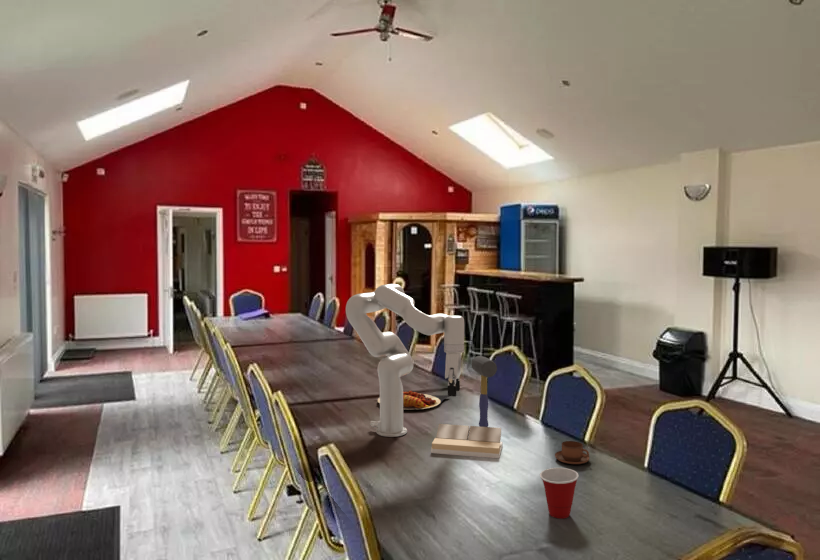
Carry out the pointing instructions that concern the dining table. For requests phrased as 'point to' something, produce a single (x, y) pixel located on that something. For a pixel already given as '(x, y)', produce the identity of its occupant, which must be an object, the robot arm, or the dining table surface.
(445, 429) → the left plank
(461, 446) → the floor board
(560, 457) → the cup and saucer
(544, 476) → the plastic cup
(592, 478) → the dining table surface
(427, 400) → the omelette plate
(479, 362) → the rubber mallet
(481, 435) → the right plank
